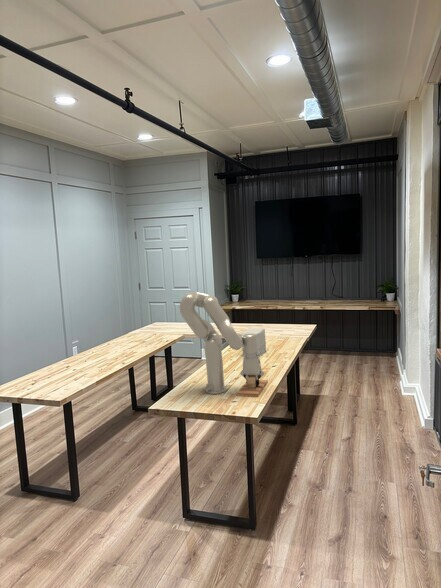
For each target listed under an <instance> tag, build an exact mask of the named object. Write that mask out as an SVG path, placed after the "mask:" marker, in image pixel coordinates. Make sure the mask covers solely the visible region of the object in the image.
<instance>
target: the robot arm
mask: <svg viewBox="0 0 441 588" xmlns="http://www.w3.org/2000/svg"><path fill="white" fill-rule="evenodd" d="M196 307H198V308H200V309H201V308H202V309H204V311H205V313H207V315H208V316H209V318H210V319H211V321H212V322H213V323H214V325H215V326H216V328H217V330H218V331H217V330H216V329H215V327H214V326H213V325H212V323H211V322H209V321H208V320H206V319H203V318H202V317H201V315H200V314H199V313H198V311H197V310H196ZM179 312H180V315H181V317H182V318H183V320H184V321H185V323H186V324H187V325H188V327H189V328H190V330H191V331H192V332H193V334H194V335H195V336H196V337H197V338H198V339H201V340H203V341H204V345H203V346H204V347H203V348H204V356H205V357H204V358H205V366H206V367H205V368H206V377H207V383H206V384H205V386H202V387H201V389H200V390H201V392H204V391H205V392H206V393H207V394H211V395H218V394H223V393H225V392H227V390H228V387H227V385H225V377H224V367H223V366H224V364H223V362H224V361H223V354H222V353H223V352H222V346H223V345H222V344H223V339H224V340H225V342H226V343H227V345H228V346H229V347H230V348H231V349H232V350H234V351H238V350H240V349H242V346H244V357H243V359H242V369H241V371H240V373H239V374H240V375H241V376H242V377H243V378H244V379H245V380H246V381H245V383H247V377H248V376H249V375H255V376H256V387H258V385H259V380H261V378H262V377H263V376H264V375H265V372H264V370H262V364H261V363H262V362H261V360H260V357H261V356H260V353H258V352H257V340H256V335H255V334H253V333H248V334H241V333H237V332H236V331H235V328H234V327H233V325H232V322H231V320H230V317H229V316H228V314H227V313H226V311H224V309H223V307H222V306H221V305H220V303H219V300H218V297H216V296H215V295H212V294H207V293H201V292H198V291H189V292H188V293H186V294H184V296H183V297H182V298H181V301H180V304H179ZM218 332H220V334H221V335H220V334H219V333H218ZM221 336H222V337H221ZM222 338H223V339H222ZM258 356H260V357H258ZM260 373H261V374H260ZM259 374H260V375H259Z"/></svg>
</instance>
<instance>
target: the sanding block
mask: <svg viewBox="0 0 441 588" xmlns="http://www.w3.org/2000/svg"><path fill="white" fill-rule="evenodd" d="M247 388H256V376H255V375H249V376H248V377H247Z"/></svg>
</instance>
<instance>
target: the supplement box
mask: <svg viewBox="0 0 441 588" xmlns="http://www.w3.org/2000/svg"><path fill="white" fill-rule="evenodd" d="M265 330H266V329H265V328H248V329H246V330H245V331H243V332H241V333H240V334H248V333H253V334H255V335H256V340H257V352H258V353H260V356H258V357H259V358H260V357H261V356H262V355H264V354H265V353H266V352H267V345H266V343H267V342H266V331H265ZM241 350H242V357H243V358H244V346H242V347H241Z"/></svg>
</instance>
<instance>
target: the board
mask: <svg viewBox="0 0 441 588" xmlns="http://www.w3.org/2000/svg"><path fill="white" fill-rule="evenodd" d="M268 382H269V380H268V379H259V385H258V387H256V388H247V383H246V382H245V383H244V384H243V385H242V386H241V387H240V389H239V390H238V391H237V392H236V397H251V398H258V397H259V396H260V394H261V393H263V392H262V391H263V390H264V389H265V387H266V386H267V384H268Z"/></svg>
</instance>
